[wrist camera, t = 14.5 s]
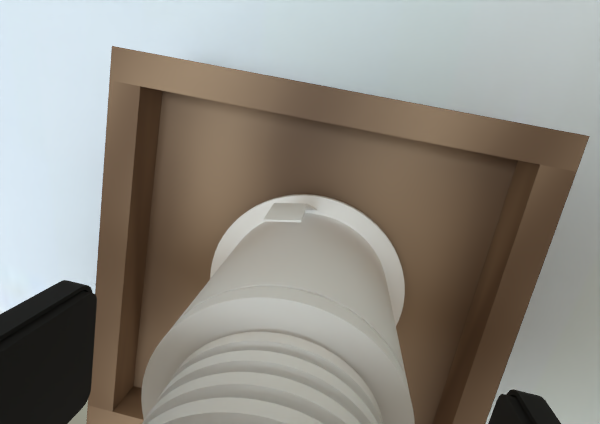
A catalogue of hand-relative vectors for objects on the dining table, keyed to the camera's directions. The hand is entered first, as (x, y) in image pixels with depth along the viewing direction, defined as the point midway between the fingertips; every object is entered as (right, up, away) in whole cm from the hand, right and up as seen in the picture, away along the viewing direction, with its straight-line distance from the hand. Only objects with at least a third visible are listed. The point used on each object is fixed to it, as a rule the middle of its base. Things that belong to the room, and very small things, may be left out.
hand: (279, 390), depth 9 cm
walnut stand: (+1, +2, +9) cm, 10 cm away
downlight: (+1, +1, +6) cm, 6 cm away
